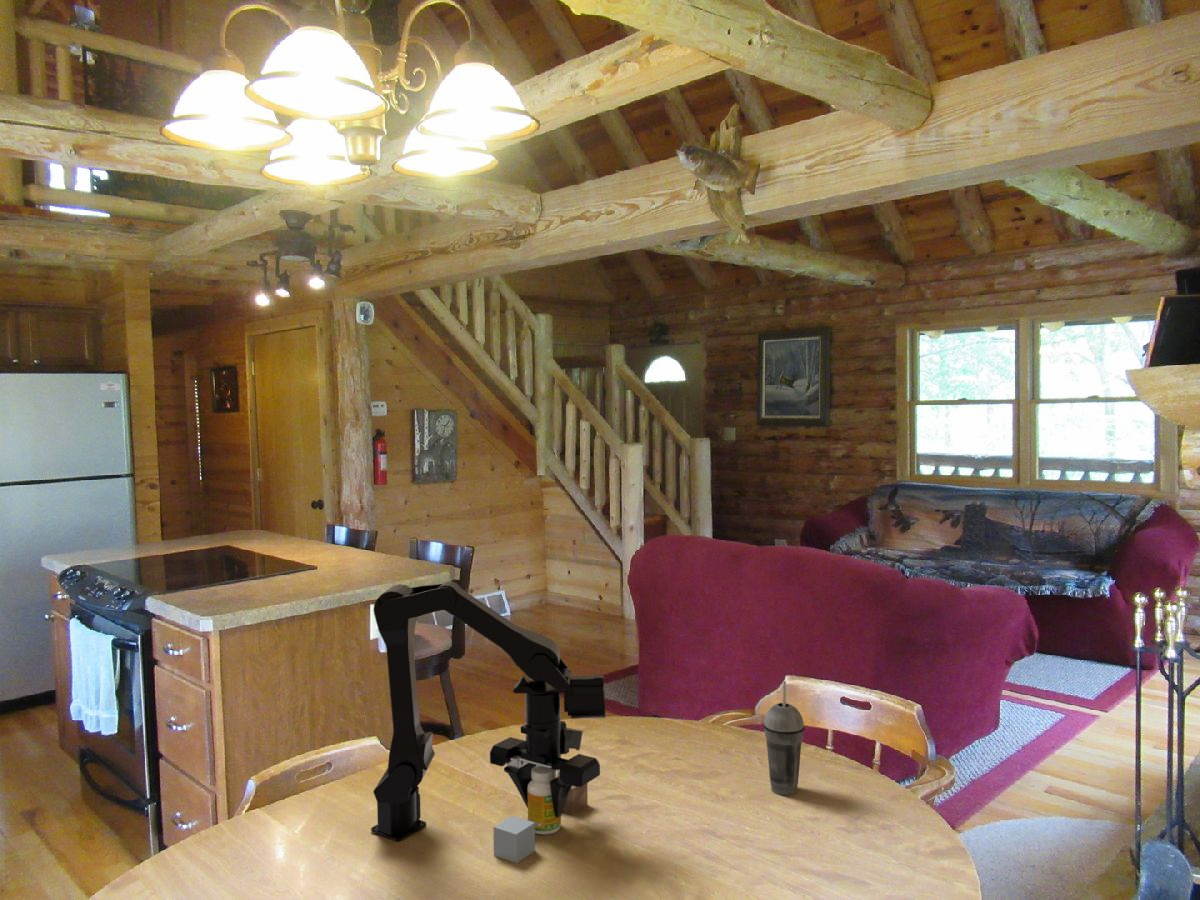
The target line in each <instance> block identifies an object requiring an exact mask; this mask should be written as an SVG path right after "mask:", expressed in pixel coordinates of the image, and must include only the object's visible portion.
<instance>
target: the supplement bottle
mask: <svg viewBox="0 0 1200 900" xmlns="http://www.w3.org/2000/svg"><path fill="white" fill-rule="evenodd" d="M531 777H532V781H530V782H529V784H528V790H527V792H528V808H527V820H528V821H531V822H534V823H535V835H545V836H546V835H552V834H554V833H556V832H558V831H559V830H560V829H561V826H562V815H561V816H560V817H558V818H557V817H556V816H555V813H554V808H553V802H552V795H551V788H550V781H551V780H553V779H555V778H556V777H557V770H554V769H550V768H547V767H543V766H539V765H537V766H535V767H533V768H532V770H531Z"/></svg>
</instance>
